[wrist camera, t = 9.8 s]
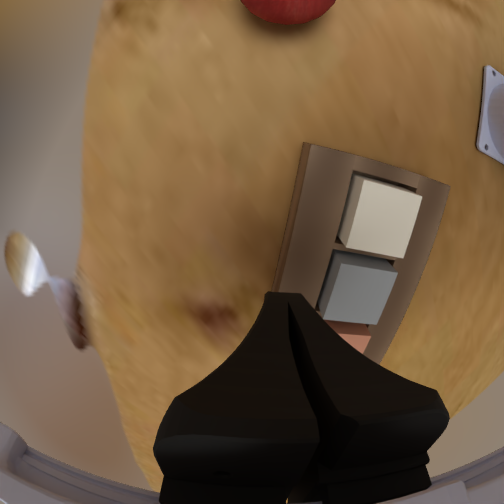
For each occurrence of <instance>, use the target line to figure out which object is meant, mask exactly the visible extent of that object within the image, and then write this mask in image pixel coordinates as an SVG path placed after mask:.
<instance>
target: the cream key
mask: <svg viewBox="0 0 504 504" xmlns="http://www.w3.org/2000/svg"><path fill="white" fill-rule="evenodd" d="M421 200H422V196H420V195H418V194H416V193H414V192H412V191H409V190H407V189H405V188H403V187H399V186H396V185H393V184H389V183H386V182H382V181H379V180H375V179H371V178H368V177H364V176H360V175H356V174H352V175H351V180H350V184H349V188H348V192H347V197H346V201H345V205H344V209H343V213H342V216H341V220H340V224H339V228H338V232H337V236H338V237H339V238H340V240H341V241H342V243H343V244H344V245H345V247H346V248H351V249H356V250H362V251H367V252H372V253H378V254H383V255H388V256H393V257H398V258H403V257H404V255H405V252H406V249H407V246H408V243H409V240H410V237H411V234H412V231H413V227H414V224H415V221H416V217H417V214H418V211H419V207H420V204H421Z"/></svg>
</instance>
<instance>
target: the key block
mask: <svg viewBox="0 0 504 504" xmlns="http://www.w3.org/2000/svg"><path fill="white" fill-rule="evenodd" d="M352 174H356V175H360V176H364V177H368V178H371V179H375V180H379V181H382V182H386V183H389V184H393V185H396V186H399V187H403V188H405V189H407V190H409V191H412V192H414V193H416V194H418V195H420V196H422V200H421V204H420V207H419V211H418V214H417V217H416V221H415V224H414V227H413V231H412V234H411V237H410V240H409V243H408V246H407V249H406V252H405V255H404V257H403V258H398V257H393V256H388V255H383V254H378V253H372V252H367V251H362V250H356V249H351V248H346V247H345V245H344V244H343V243H342V241H341V240H340V238H339V237H338V236H337V232H338V228H339V224H340V220H341V216H342V213H343V209H344V205H345V201H346V197H347V192H348V188H349V184H350V180H351V175H352ZM449 190H450V186H449V185H446V184H444V183H441V182H438V181H436V180H433V179H430V178H428V177H425V176H422V175H419V174H416V173H413V172H410V171H407V170H404V169H401V168H398V167H395V166H392V165H389V164H385V163H382V162H379V161H375V160H372V159H368V158H365V157H361V156H358V155H354V154H350V153H346V152H343V151H339V150H335V149H331V148H326V147H322V146H318V145H313V144H309V143H304V142H303V147H302V152H301V157H300V162H299V167H298V172H297V177H296V182H295V187H294V192H293V197H292V201H291V206H290V211H289V215H288V220H287V225H286V229H285V234H284V239H283V243H282V248H281V252H280V257H279V261H278V266H277V270H276V274H275V279H274V283H273V287H272V292H286V293H301V294H302V295H303V296H304V297H305V299H306V300H307V301H308V302H309V303H310V305H311V306H312V307H313V308H314V309H315V311H316V312H317V313H318V314H319V315H320V316H321V317H322V315H321V312H320V309H319V305H318V302H317V300H318V296H319V293H320V290H321V287H322V284H323V280H324V277H325V274H326V270H327V267H328V264H329V260H330V257H331V253H332V250H333V249H336V250H341V251H347V252H353V253H358V254H363V255H369V256H374V257H380V258H385V259H386V260H387V261H388V262H389V263H390V264H391V265H392V267H393V268H394V269H395V270H396V271H397V272H398V274H397V277H396V279H395V282H394V285H393V287H392V290H391V292H390V295H389V297H388V299H387V302H386V304H385V307H384V309H383V311H382V314H381V316H380V318H379V320H378V323H377V325H374V324H366V326H367V328H368V330H369V332H370V334H371V338H370V340H369V342H368V344H367V346H366V348H365V350H364V352H363V355H365V356H366V357H368V358H369V359H371V360H372V361H374V362H376V363H377V364H380V362H381V361H382V359H383V357H384V355H385V353H386V351H387V349H388V347H389V346H390V344H391V342H392V340H393V338H394V336H395V334H396V332H397V330H398V328H399V326H400V324H401V321H402V319H403V317H404V315H405V313H406V311H407V309H408V306H409V304H410V302H411V300H412V297H413V295H414V293H415V290H416V288H417V285H418V283H419V281H420V278H421V276H422V273H423V271H424V268H425V265H426V263H427V260H428V257H429V255H430V252H431V249H432V246H433V243H434V240H435V237H436V234H437V231H438V228H439V225H440V222H441V218H442V215H443V212H444V208H445V205H446V201H447V198H448V194H449Z"/></svg>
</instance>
